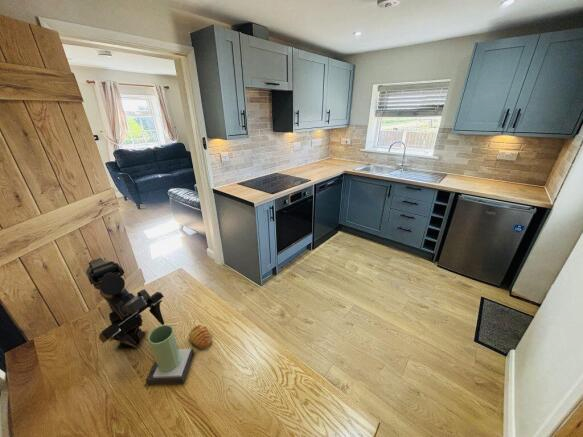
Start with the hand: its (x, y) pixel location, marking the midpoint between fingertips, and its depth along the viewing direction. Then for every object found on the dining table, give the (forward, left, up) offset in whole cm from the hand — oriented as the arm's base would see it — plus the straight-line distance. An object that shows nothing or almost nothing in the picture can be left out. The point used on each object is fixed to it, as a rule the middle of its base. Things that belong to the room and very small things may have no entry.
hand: (151, 335), depth 76 cm
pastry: (+12, +8, -12) cm, 19 cm away
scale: (+6, -3, -12) cm, 14 cm away
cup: (+5, -3, -9) cm, 11 cm away
